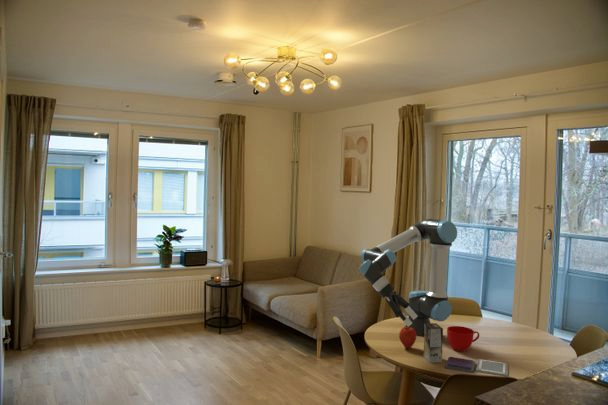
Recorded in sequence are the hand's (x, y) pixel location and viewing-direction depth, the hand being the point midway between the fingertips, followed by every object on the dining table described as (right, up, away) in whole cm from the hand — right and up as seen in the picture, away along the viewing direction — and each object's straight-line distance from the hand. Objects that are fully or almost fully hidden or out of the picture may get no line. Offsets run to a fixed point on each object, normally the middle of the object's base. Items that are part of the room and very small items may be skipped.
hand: (413, 321), depth 230 cm
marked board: (+33, -18, -13) cm, 40 cm away
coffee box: (+9, -17, -3) cm, 20 cm away
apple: (0, -17, +12) cm, 20 cm away
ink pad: (+19, -18, -11) cm, 28 cm away
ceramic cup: (+28, -17, +12) cm, 35 cm away
